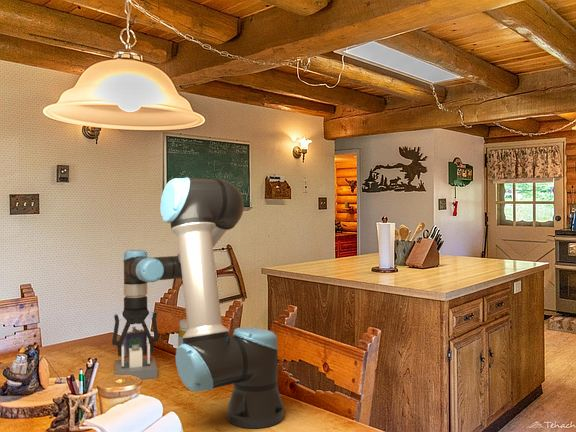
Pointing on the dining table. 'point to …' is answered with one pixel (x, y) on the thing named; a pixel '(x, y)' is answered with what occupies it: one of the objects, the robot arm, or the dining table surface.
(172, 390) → the dining table surface
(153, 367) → the socket
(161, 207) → the robot arm
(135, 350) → the cream rectangular container
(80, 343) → the dining table surface
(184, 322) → the bottle
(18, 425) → the dining table surface
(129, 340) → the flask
